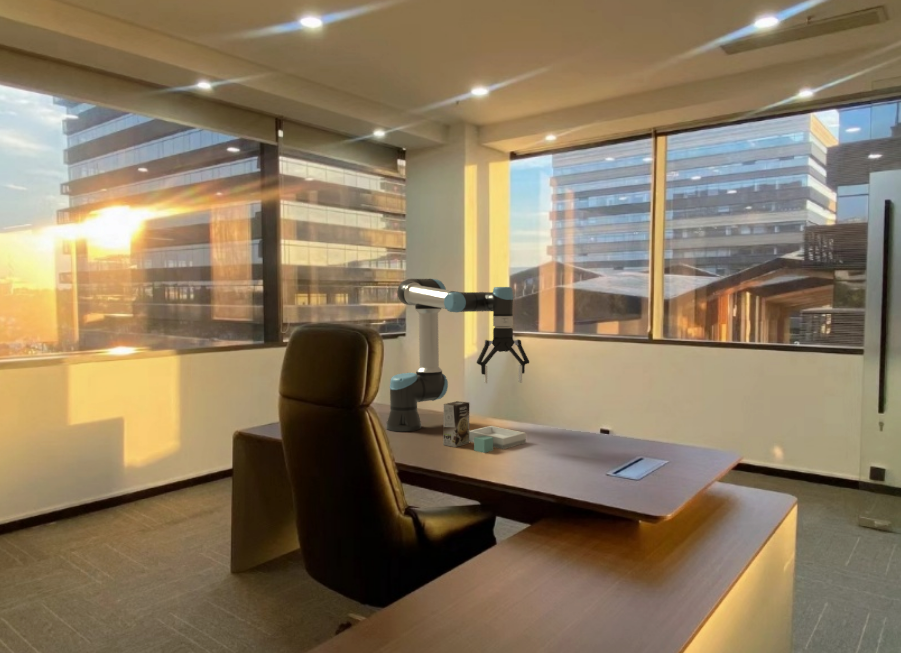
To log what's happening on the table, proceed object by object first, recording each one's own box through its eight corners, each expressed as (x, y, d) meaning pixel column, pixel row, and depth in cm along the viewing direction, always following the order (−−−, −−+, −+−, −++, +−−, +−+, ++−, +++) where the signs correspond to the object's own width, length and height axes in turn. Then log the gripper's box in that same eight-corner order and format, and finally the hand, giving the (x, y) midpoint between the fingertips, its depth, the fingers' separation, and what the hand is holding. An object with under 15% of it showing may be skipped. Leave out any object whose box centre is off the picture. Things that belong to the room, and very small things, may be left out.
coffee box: (456, 447, 238) (456, 405, 237) (442, 445, 242) (442, 403, 241) (470, 443, 245) (470, 402, 244) (456, 440, 249) (456, 400, 248)
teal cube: (474, 450, 233) (474, 437, 233) (482, 448, 237) (483, 435, 237) (484, 453, 230) (484, 439, 230) (493, 450, 234) (493, 437, 233)
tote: (467, 441, 248) (467, 431, 248) (490, 435, 258) (491, 425, 258) (503, 449, 235) (503, 438, 235) (525, 442, 245) (525, 432, 245)
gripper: (472, 328, 234) (472, 384, 235) (537, 327, 238) (537, 383, 239) (469, 327, 241) (469, 381, 242) (531, 326, 245) (531, 380, 246)
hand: (503, 382), depth 241 cm, fingers open, 13 cm apart
